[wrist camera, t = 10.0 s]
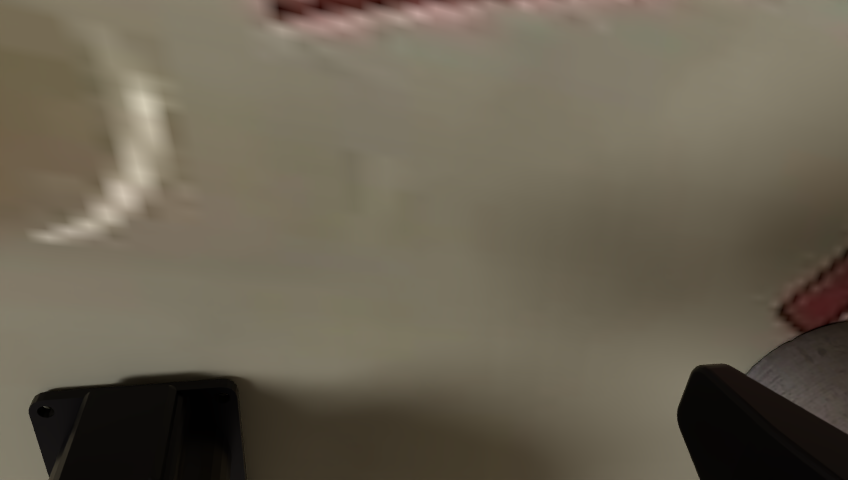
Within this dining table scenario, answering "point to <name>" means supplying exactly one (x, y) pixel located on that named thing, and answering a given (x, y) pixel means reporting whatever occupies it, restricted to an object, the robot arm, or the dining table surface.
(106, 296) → the dining table surface
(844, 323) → the pillar candle
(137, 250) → the dining table surface
